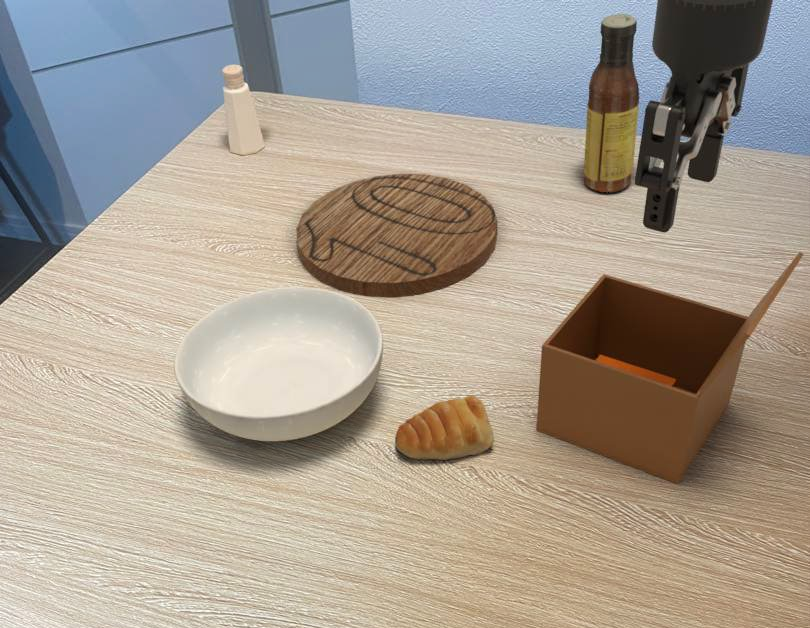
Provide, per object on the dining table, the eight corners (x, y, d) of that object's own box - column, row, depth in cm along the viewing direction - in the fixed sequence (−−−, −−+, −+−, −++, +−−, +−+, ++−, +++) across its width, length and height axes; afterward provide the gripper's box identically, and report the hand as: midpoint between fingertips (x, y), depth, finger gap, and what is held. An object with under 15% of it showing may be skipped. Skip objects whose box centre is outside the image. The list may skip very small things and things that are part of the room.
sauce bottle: (638, 177, 121) (661, 14, 106) (618, 199, 117) (639, 34, 102) (592, 166, 123) (608, 6, 108) (572, 188, 120) (585, 25, 105)
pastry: (408, 476, 88) (405, 447, 85) (386, 432, 92) (383, 403, 89) (499, 451, 89) (499, 421, 86) (474, 408, 93) (474, 379, 90)
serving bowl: (299, 314, 105) (290, 262, 100) (429, 393, 95) (426, 339, 90) (150, 404, 97) (131, 352, 91) (274, 502, 86) (262, 449, 81)
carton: (728, 404, 91) (752, 317, 83) (677, 484, 85) (698, 398, 77) (593, 358, 97) (603, 273, 89) (536, 430, 91) (541, 345, 83)
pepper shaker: (224, 155, 132) (206, 76, 123) (234, 137, 135) (218, 59, 127) (260, 156, 131) (245, 76, 122) (270, 138, 134) (256, 59, 126)
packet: (670, 410, 91) (676, 379, 88) (650, 441, 88) (656, 409, 85) (596, 385, 94) (600, 354, 91) (574, 413, 91) (577, 382, 88)
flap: (752, 310, 83) (756, 313, 83) (698, 390, 76) (702, 393, 76) (800, 251, 77) (804, 254, 77) (745, 333, 70) (750, 335, 70)
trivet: (432, 319, 103) (431, 305, 102) (258, 263, 113) (255, 250, 111) (532, 213, 116) (532, 199, 115) (368, 171, 126) (367, 158, 125)
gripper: (731, 27, 56) (687, 259, 68) (811, -50, 63) (758, 173, 75) (619, 8, 59) (596, 234, 71) (706, -64, 66) (672, 153, 78)
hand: (679, 202), depth 73 cm, fingers open, 8 cm apart
